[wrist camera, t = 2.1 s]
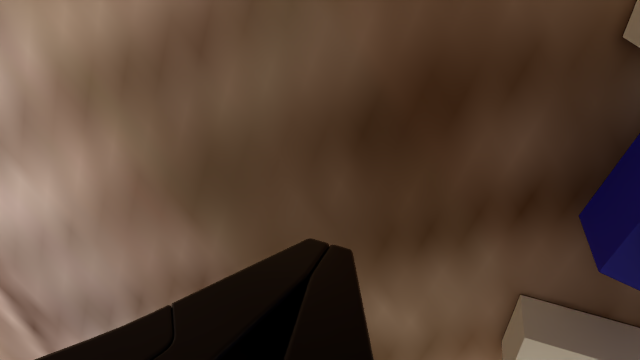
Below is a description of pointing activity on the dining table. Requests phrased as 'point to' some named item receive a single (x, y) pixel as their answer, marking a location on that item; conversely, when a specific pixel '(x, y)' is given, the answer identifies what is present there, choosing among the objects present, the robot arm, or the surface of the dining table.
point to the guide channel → (570, 314)
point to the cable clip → (617, 220)
